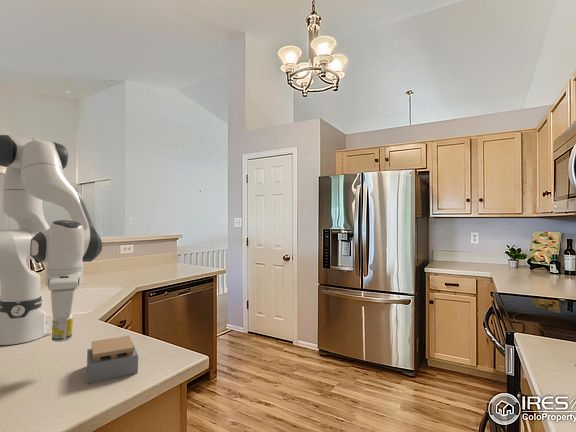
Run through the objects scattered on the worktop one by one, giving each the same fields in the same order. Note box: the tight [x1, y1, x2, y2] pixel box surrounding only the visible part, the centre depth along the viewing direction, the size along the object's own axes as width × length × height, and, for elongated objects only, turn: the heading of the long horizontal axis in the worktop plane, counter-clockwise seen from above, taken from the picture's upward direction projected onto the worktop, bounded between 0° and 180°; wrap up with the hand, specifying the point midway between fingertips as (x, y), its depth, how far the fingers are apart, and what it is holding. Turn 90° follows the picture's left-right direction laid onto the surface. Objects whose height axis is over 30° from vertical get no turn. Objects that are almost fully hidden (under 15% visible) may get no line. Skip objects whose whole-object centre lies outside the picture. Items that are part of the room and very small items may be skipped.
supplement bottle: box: [51, 309, 74, 343], centre depth 93 cm, size 5×5×8 cm
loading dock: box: [86, 335, 139, 384], centre depth 94 cm, size 12×12×7 cm
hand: (62, 326), depth 93 cm, fingers closed on supplement bottle, 5 cm apart
